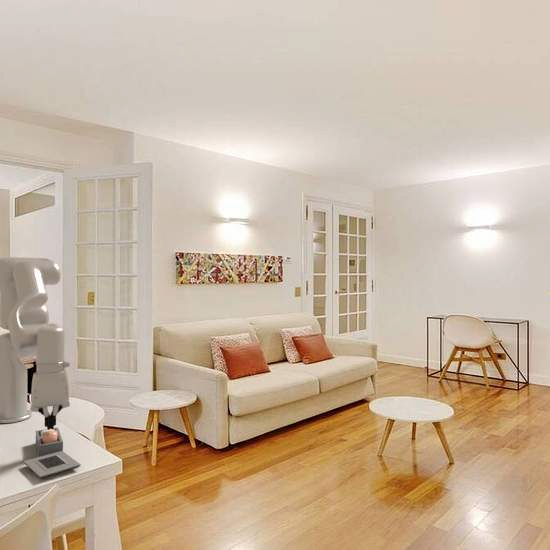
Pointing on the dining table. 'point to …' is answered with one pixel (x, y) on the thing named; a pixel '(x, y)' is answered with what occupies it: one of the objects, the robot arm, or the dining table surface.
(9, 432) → the dining table surface
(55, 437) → the pink button
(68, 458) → the electrical outlet
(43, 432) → the white button
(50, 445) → the button console
